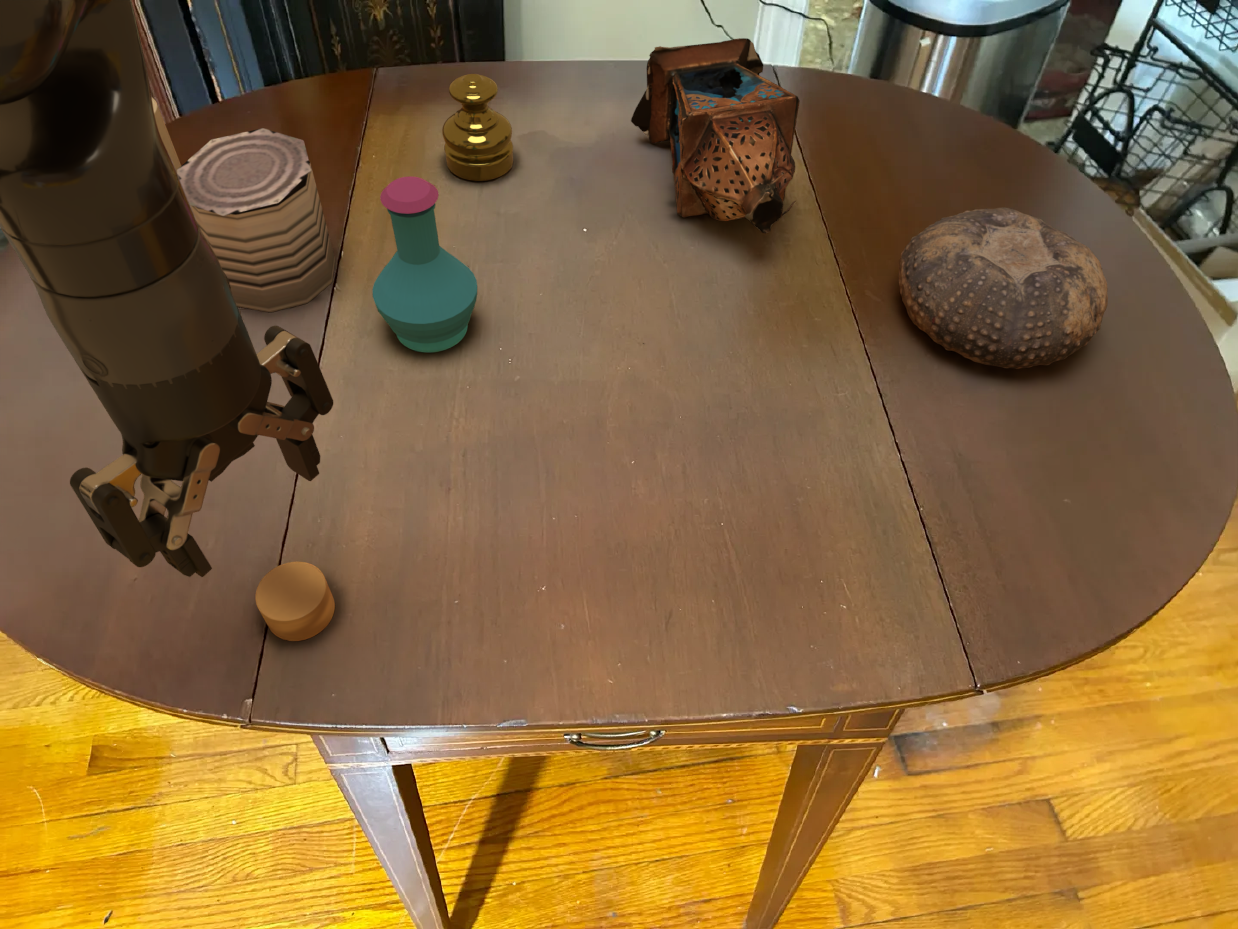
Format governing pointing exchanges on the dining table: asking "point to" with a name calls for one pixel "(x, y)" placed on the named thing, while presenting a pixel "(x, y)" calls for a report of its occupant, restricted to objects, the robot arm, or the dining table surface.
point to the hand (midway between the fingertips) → (252, 517)
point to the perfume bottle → (422, 274)
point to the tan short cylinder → (295, 601)
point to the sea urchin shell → (1002, 288)
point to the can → (261, 217)
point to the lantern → (721, 130)
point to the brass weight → (477, 132)
